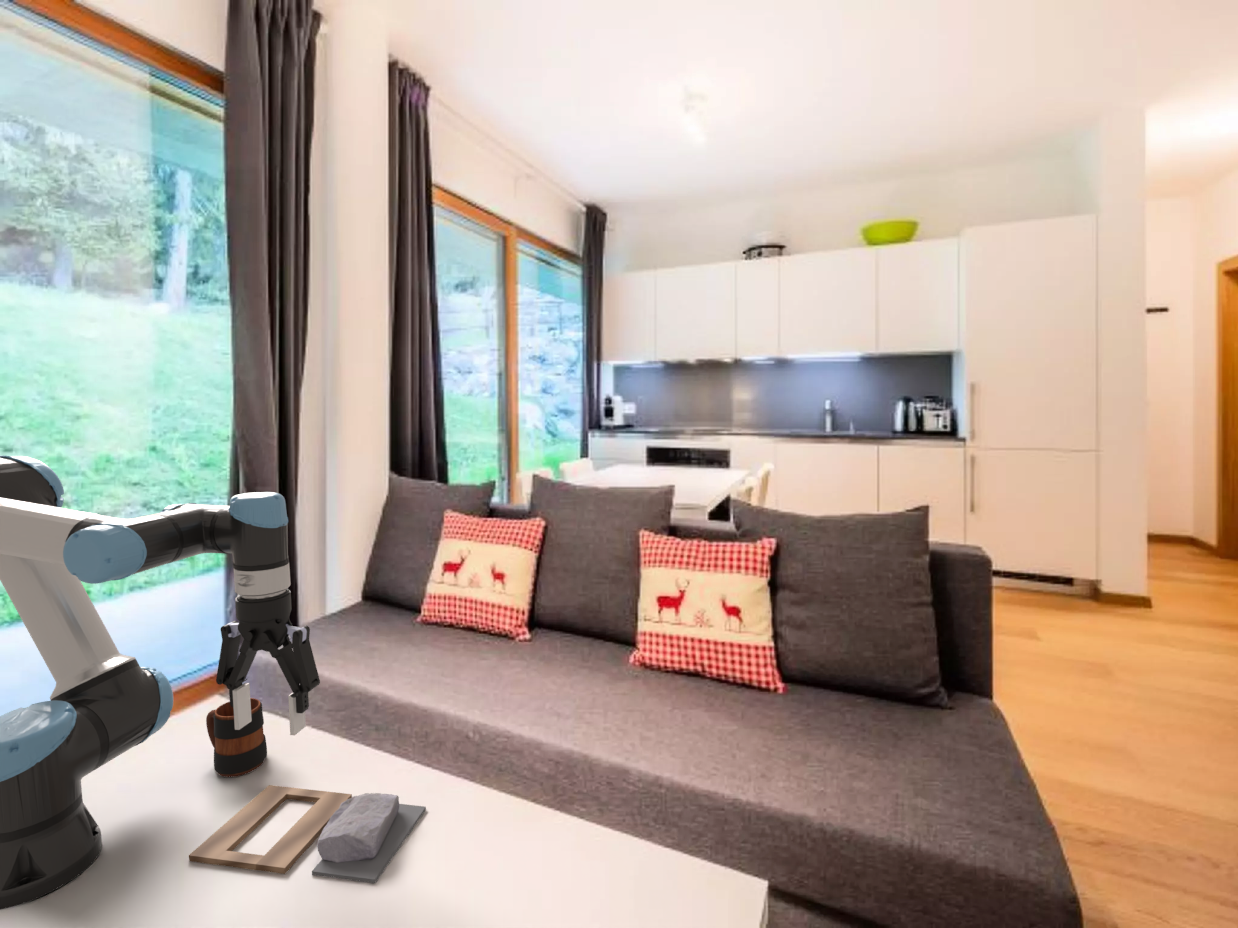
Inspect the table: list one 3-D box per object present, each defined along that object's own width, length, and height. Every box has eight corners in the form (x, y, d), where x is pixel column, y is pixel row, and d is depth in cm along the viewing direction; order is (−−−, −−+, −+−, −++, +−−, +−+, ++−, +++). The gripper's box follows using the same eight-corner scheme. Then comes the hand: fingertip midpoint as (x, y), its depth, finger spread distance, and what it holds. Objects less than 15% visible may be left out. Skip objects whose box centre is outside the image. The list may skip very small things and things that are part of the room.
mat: (312, 874, 89) (311, 870, 89) (371, 803, 105) (371, 800, 105) (375, 883, 88) (374, 879, 88) (425, 809, 104) (425, 806, 103)
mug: (230, 746, 122) (226, 690, 121) (278, 756, 119) (274, 699, 117) (189, 771, 114) (185, 712, 113) (239, 782, 110) (235, 722, 109)
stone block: (314, 874, 91) (380, 860, 91) (307, 844, 90) (373, 830, 91) (347, 821, 103) (405, 809, 103) (340, 795, 102) (399, 783, 102)
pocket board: (189, 861, 92) (188, 855, 92) (269, 790, 108) (269, 784, 108) (285, 873, 89) (284, 867, 89) (351, 799, 106) (351, 793, 106)
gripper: (181, 595, 93) (190, 734, 95) (311, 603, 89) (317, 747, 92) (220, 580, 100) (228, 710, 102) (341, 588, 97) (346, 721, 99)
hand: (270, 727), depth 97 cm, fingers open, 9 cm apart
